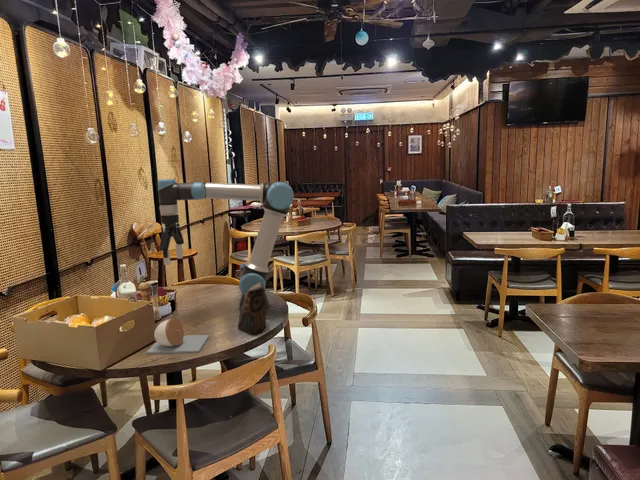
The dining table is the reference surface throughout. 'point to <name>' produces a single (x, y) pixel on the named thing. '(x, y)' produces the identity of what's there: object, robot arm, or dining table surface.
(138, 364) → the dining table surface
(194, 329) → the dining table surface
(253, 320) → the owl
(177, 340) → the lidded jar
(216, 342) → the dining table surface
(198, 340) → the mat
